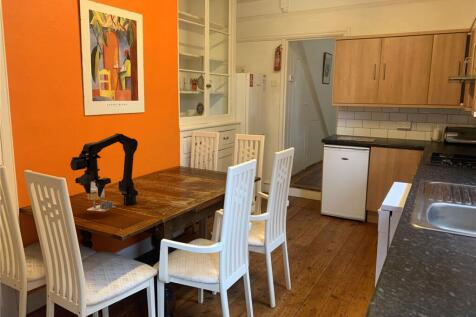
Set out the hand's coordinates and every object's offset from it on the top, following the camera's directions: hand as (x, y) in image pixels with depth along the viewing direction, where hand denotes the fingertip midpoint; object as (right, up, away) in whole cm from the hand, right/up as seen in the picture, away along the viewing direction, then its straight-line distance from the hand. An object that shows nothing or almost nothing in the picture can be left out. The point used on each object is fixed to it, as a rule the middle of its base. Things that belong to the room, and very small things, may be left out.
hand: (94, 196), depth 194 cm
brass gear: (0, -1, 0) cm, 1 cm away
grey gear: (+2, -8, +12) cm, 15 cm away
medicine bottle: (-13, -5, +36) cm, 39 cm away
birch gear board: (-1, -9, +12) cm, 15 cm away
